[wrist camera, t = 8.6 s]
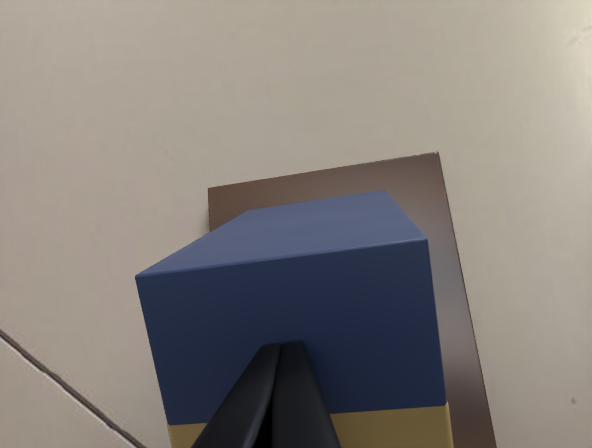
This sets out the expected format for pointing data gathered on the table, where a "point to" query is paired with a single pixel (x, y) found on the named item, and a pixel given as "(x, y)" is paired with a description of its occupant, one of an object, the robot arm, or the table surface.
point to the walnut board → (443, 255)
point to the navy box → (305, 317)
